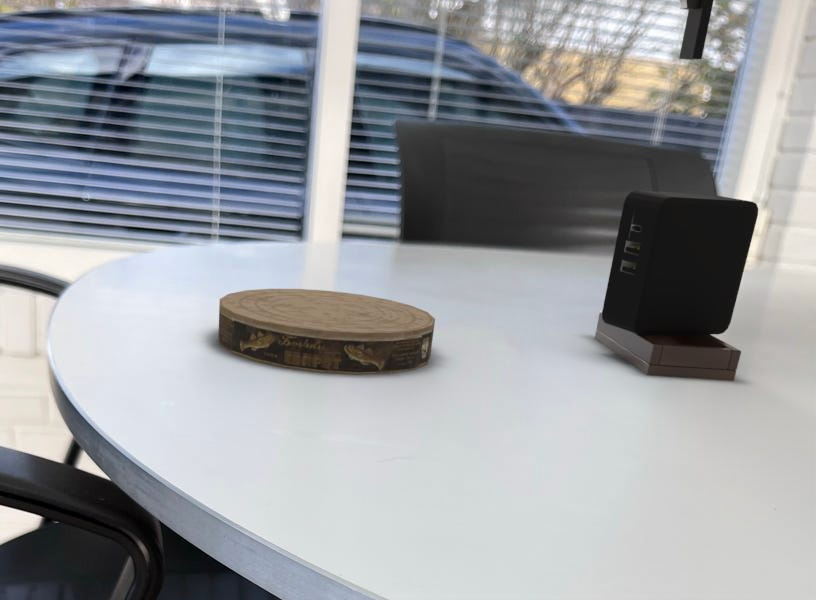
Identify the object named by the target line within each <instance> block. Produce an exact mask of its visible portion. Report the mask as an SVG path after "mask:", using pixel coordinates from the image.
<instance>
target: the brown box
mask: <svg viewBox="0 0 816 600" xmlns="http://www.w3.org/2000/svg"><path fill="white" fill-rule="evenodd" d="M602 311H603V310H602ZM602 311H601V310H600V311H599V314H598V319H597V324H596V329H595V334H594V339H595V340H596V341H597V342H598V343H600V344H602V346H605V347H606V348H607V349H609V350H610V351H612V352H613V353H615V354H616V355H618V356H619V357H620V358H622V359H623V360H625V361H626V362H627V363H629V364H631V365H632V366H633V367H634V368H636V369H638V370H639V371H640V372H642V373H643V374H645V376H653V377H666V378H667V377H668V378H684V379H699V380H711V381H713V380H714V381H725V382H726V381H730V382H734V381H735V378H736V374H737V369H738V365H739V361H740V358H741V354H742V350H740V349H738V348H737V347H735V346H732V345H731V344H730V343H727V342H725V341H723V340H721V339H719V338H717V337H716V336H714V335H713V334H705V335H639V334H636V333H633V332H630V331H627V330H624V329H621V328H618V327H615V326H613V325H610V324H607V323H605V322H604V321H603V319H602Z"/></svg>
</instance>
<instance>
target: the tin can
mask: <svg viewBox="0 0 816 600" xmlns="http://www.w3.org/2000/svg"><path fill="white" fill-rule="evenodd" d="M218 309H219V310H218V333H217V334H218V336H217V337H218V343H219V346H220V347H221V348H223V349H225V350H226V351H228V352H229V353H230V354H233V355H236V356H238V357H240V358H244V359H247V360H250V361H253V362H255V363H256V362H257V363H261V364H265V365H270V366H274V367H275V366H276V367H279V368H284V369H290V370H298V371H306V372H313V373H319V374H320V373H322V374H338V375H357V376H359V375H387V374H388V375H389V374H397V373H401V372H409V371H414V370H416V369H418V368H421V367H424V366H427V365H428V364H429V361H430V359H431V356H432V355H431V354H432V346H433V340H434V339H433V338H434V330H435V323H436V318H435V317H434V316H433V315H432V314H430V313H429V311H426V310H423V309H421V308H419V307H416V306H413V305H411V304H408V303H403V302H399V301H396V300H392V299H386V298H381V297H376V296H370V295H365V294H358V293H350V292H342V291H333V290H323V289H322V290H321V289H307V288H260V289H245V290H241V291H236V292H232V293H231V292H230V293H227V294H225V296H222V297H221V298H219V308H218Z"/></svg>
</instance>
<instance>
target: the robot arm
mask: <svg viewBox="0 0 816 600" xmlns="http://www.w3.org/2000/svg"><path fill="white" fill-rule="evenodd" d="M678 3H679V8H680V10H687V15H686V16H687V17H686V21H685V27H684V31H683V37H682V41H681V47H680V51H679V56H678V59H679V60H687V61H689V60H691V61H692V60H702V59H703V54H704V50H705V44H706V39H707V34H708V29H709V25H710V20H711V15H712V11H713V10H712V9H713V6H714V0H679V2H678Z"/></svg>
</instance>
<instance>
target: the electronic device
mask: <svg viewBox="0 0 816 600" xmlns="http://www.w3.org/2000/svg"><path fill="white" fill-rule="evenodd" d="M620 215H621V216H620V220H619V224H618V225H619V226H618V229H617V230H618V231H617V236H616V241H615V244H614V245H615V246H614V251H613V256H612V261H611V265H610V270H609V276H608V281H607V286H606V291H605V296H604V301H603V306H602V319H603V321H604V322H605V323H607V324H610V325H613V326H615V327H618V328H621V329H624V330H627V331H630V332H633V333H636V334H639V335H705V334H710V335H721V334H724V333H725V332H726V331H727V330H728V329H729V327H730V325H731V322H732V318H733V315H734V310H735V307H736V303H737V300H738V299H737V298H738V295H739V291H740V287H741V282H742V279H743V275H744V272H745V268H746V263H747V259H748V255H749V251H750V248H751V244H752V239H753V235H754V233H755V228H756V224H757V221H758V216H759V207H758V205H757V203H756V202H754V201H751V200H745V199H741V198H733V197H728V196H722V195H716V194H700V193H685V192H684V193H683V192H669V191H651V190H633V191H630V193H628V194H627V195H626V197H625V199H624V202H623V205H622V211H621V214H620Z"/></svg>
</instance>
